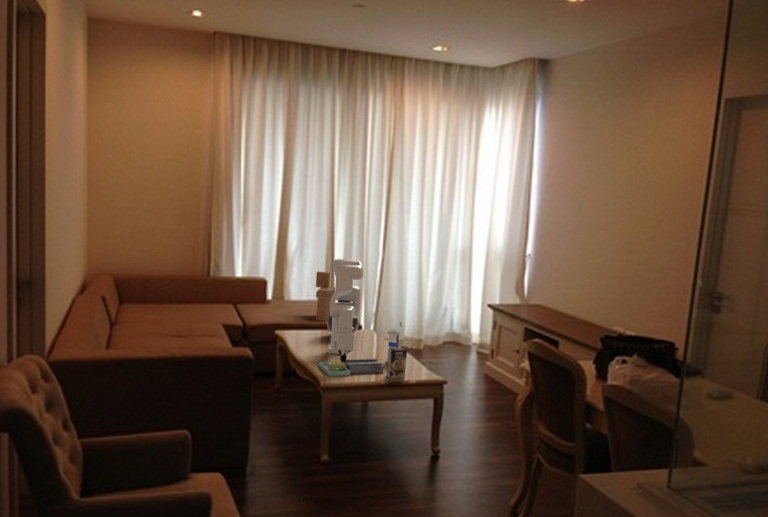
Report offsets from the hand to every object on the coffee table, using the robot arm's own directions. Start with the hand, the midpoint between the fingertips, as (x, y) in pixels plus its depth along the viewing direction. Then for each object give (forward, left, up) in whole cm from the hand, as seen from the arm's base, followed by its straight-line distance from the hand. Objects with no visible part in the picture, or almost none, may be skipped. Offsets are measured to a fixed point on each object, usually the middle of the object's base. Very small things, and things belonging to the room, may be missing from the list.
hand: (343, 361), depth 383 cm
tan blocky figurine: (-145, +32, -5) cm, 149 cm away
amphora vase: (-78, +25, -5) cm, 82 cm away
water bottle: (-14, +36, -5) cm, 39 cm away
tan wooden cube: (0, -6, -1) cm, 7 cm away
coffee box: (+16, +26, -5) cm, 31 cm away
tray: (0, -5, -5) cm, 7 cm away
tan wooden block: (+1, -3, -1) cm, 4 cm away
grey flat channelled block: (0, +12, -5) cm, 13 cm away
